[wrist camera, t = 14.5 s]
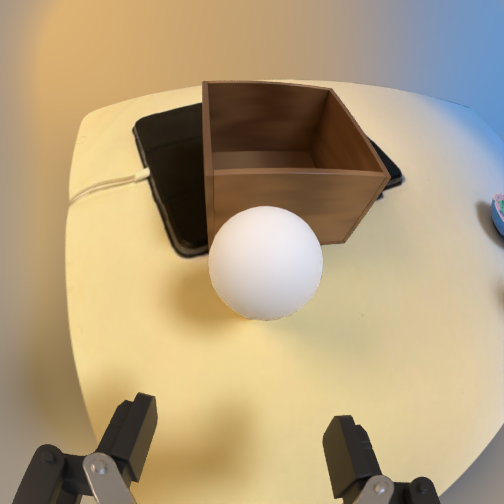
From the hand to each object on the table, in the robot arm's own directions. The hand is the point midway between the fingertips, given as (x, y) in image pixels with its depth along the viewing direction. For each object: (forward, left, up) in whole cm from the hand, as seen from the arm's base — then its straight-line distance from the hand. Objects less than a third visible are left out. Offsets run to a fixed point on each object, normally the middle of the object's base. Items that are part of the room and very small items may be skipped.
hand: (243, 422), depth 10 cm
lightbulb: (+2, +8, -9) cm, 12 cm away
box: (+6, +20, -9) cm, 22 cm away
